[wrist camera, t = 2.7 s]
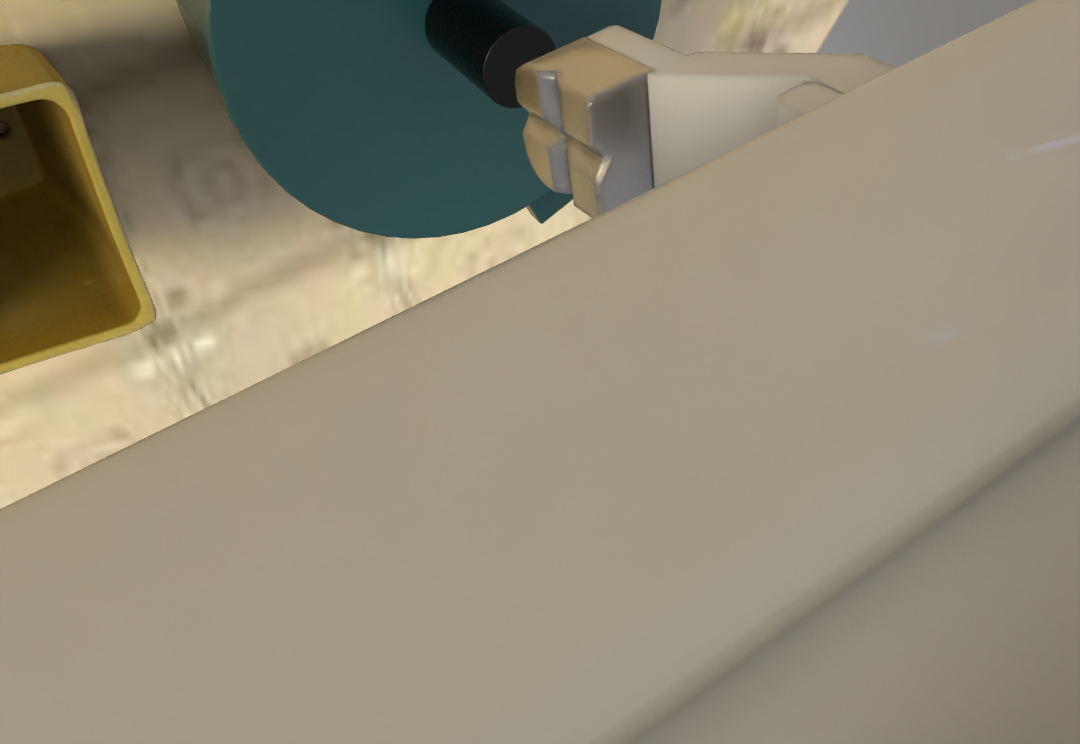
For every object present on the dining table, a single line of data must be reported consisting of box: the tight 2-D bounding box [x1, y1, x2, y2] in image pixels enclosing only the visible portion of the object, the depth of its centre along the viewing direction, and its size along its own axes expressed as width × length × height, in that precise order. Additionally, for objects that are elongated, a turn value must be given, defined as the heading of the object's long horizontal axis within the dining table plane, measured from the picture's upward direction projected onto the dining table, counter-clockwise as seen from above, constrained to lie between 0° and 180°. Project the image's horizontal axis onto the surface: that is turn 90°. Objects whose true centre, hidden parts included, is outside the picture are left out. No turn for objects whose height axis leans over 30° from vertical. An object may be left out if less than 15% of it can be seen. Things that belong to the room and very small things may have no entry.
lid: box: [204, 0, 661, 238], centre depth 32 cm, size 17×17×6 cm
